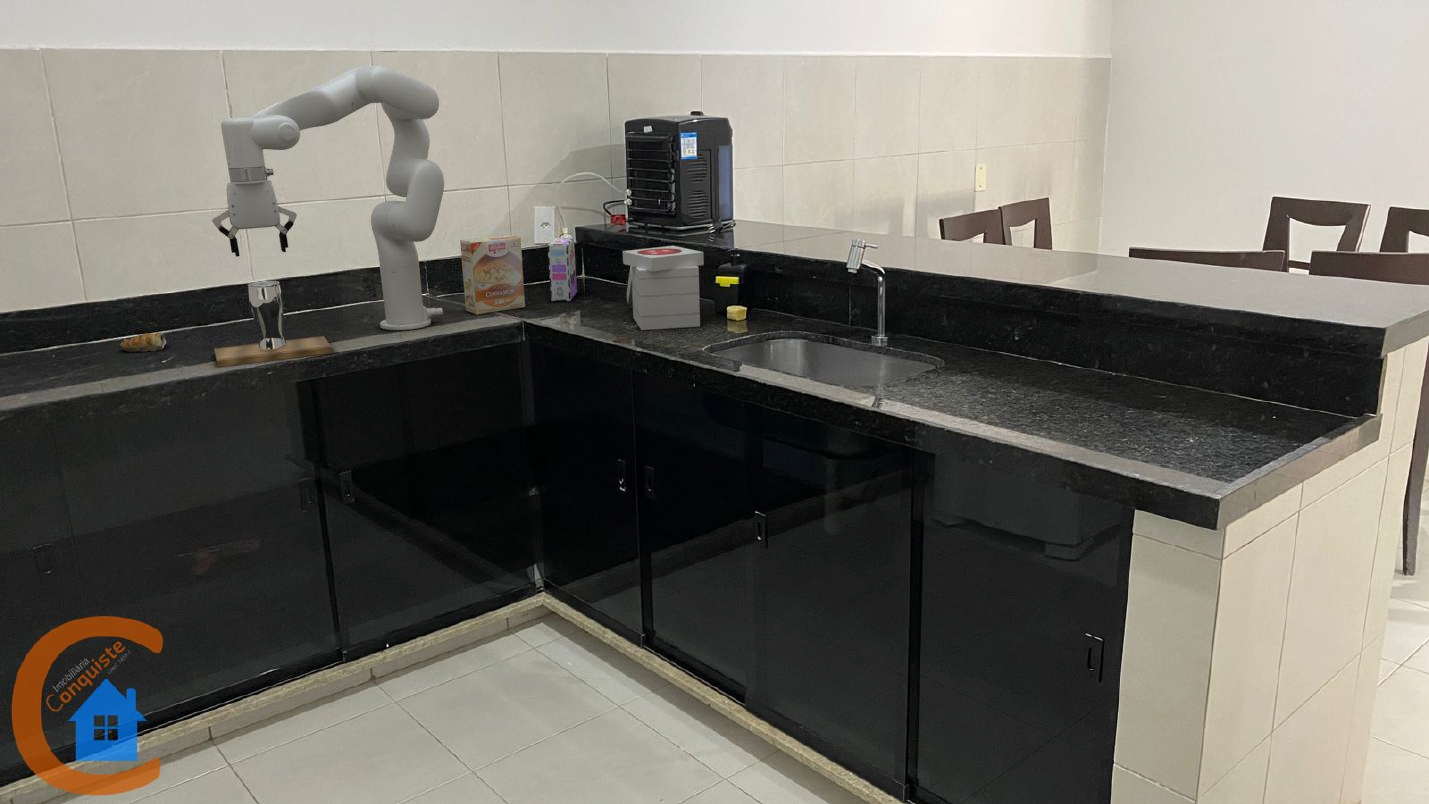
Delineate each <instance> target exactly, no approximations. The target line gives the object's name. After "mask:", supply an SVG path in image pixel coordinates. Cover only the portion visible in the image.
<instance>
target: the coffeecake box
mask: <svg viewBox="0 0 1429 804" xmlns="http://www.w3.org/2000/svg"><path fill="white" fill-rule="evenodd" d="M521 238H522V237H521V236H517V235H511V234H507V235H496V236H487V237H478V238H469V239H460V240H459V241H460V242H459V243H460V245H459V246H460V255H461V266H462V280H463V289H464V291H463V292H464V303H465V311H466V312H469V313H472V314H474V315H476V316H477V315H483V314H490V313H496V312H503V311H509V310H515V309H522V308H526V300H525V299H526V297H525V285H524V284H525V283H524V282H525V281H524V271H523V255H522V240H521Z"/></svg>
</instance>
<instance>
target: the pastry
mask: <svg viewBox="0 0 1429 804" xmlns="http://www.w3.org/2000/svg"><path fill="white" fill-rule="evenodd" d="M165 345H167V340H166V337H165V335H164V334H163V332H161V331H160V332H156V333H153V332H150V333H149V332H148V333H147V332H146V333H142V334H138V335H136V336H133V337H131V338H128V339H124V340H123V341H122V342H120V343H119V346H120V348H121V349H122V351H126V352H130V353H132V352H134V353H135V352H148V351H149V352H150V351H151V352H157V351H161V350H163V349H164V348H165Z"/></svg>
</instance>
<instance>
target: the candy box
mask: <svg viewBox="0 0 1429 804" xmlns="http://www.w3.org/2000/svg"><path fill="white" fill-rule="evenodd" d="M547 259H548V261H547V262H548V274H549V277H548V278H549V292H550V302H571V301H572V299H574V297H575V296H576V294H578V284H577V269H576V268H577V267H576V249H575V238H574V237H555V238H554V239H553V240H551V241H550V242H549V243H548V244H547Z"/></svg>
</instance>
